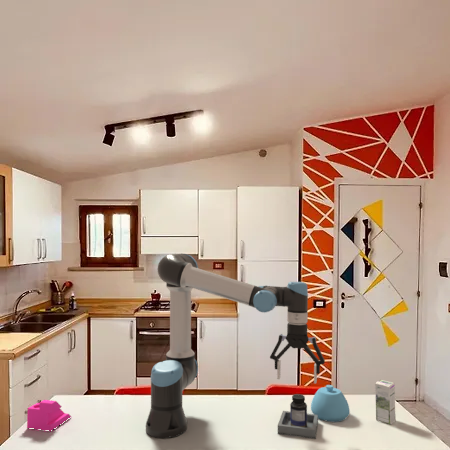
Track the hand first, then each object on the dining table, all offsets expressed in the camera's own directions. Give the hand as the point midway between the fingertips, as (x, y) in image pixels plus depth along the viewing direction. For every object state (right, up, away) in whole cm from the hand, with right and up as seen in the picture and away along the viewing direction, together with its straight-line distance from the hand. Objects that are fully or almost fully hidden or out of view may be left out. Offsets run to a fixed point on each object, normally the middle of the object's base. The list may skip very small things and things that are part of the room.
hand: (296, 380), depth 149 cm
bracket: (-94, -18, +3) cm, 96 cm away
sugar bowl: (+15, -18, +11) cm, 26 cm away
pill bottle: (+1, -17, -1) cm, 17 cm away
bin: (0, -17, -1) cm, 18 cm away
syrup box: (+36, -18, +6) cm, 40 cm away
